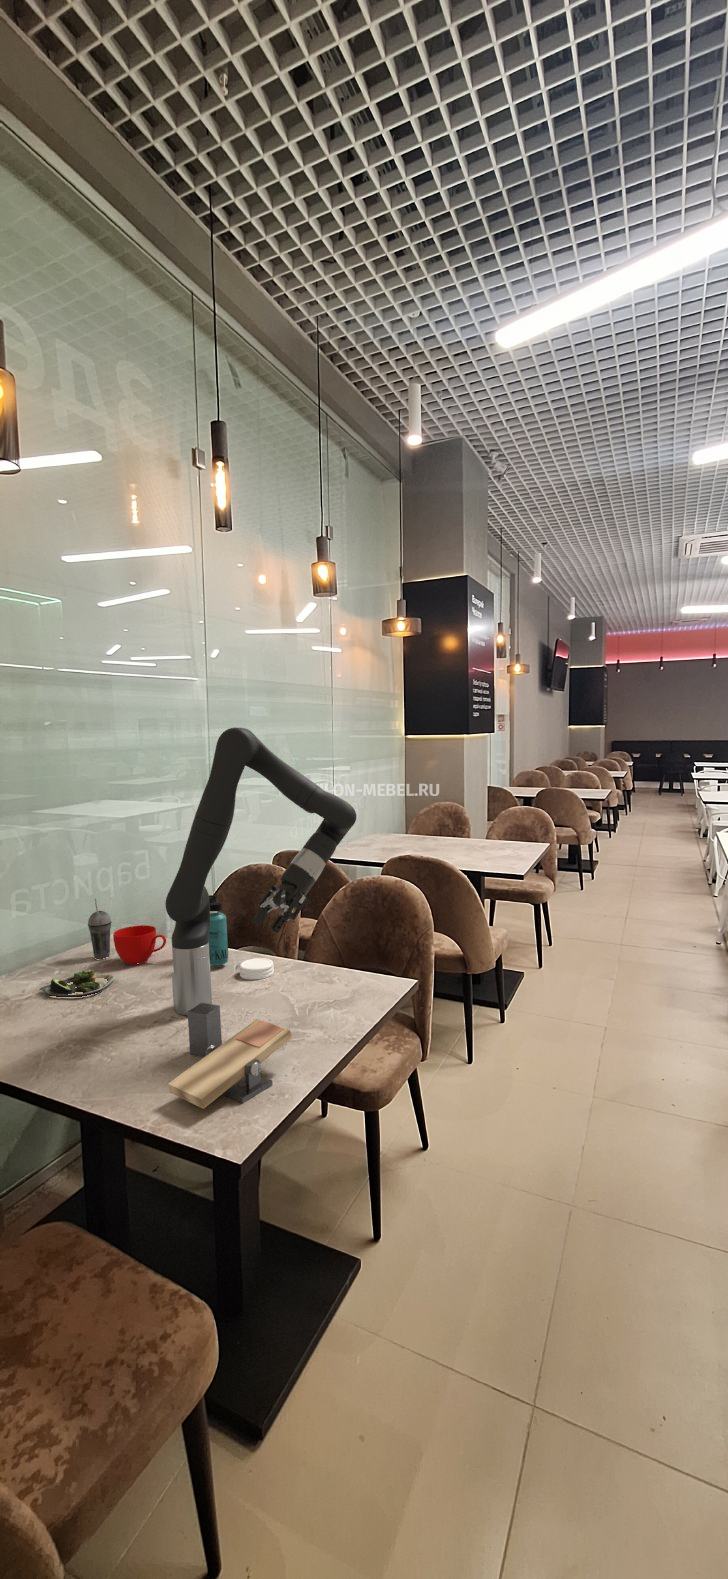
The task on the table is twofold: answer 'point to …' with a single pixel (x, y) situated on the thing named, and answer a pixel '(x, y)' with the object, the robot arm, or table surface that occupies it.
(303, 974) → the table surface
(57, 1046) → the table surface
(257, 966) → the coaster
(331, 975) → the table surface
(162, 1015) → the table surface
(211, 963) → the beverage bottle
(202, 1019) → the block
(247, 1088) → the seesaw stand
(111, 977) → the salad plate
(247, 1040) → the seesaw plank
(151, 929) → the ceramic cup
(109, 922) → the beverage cup
